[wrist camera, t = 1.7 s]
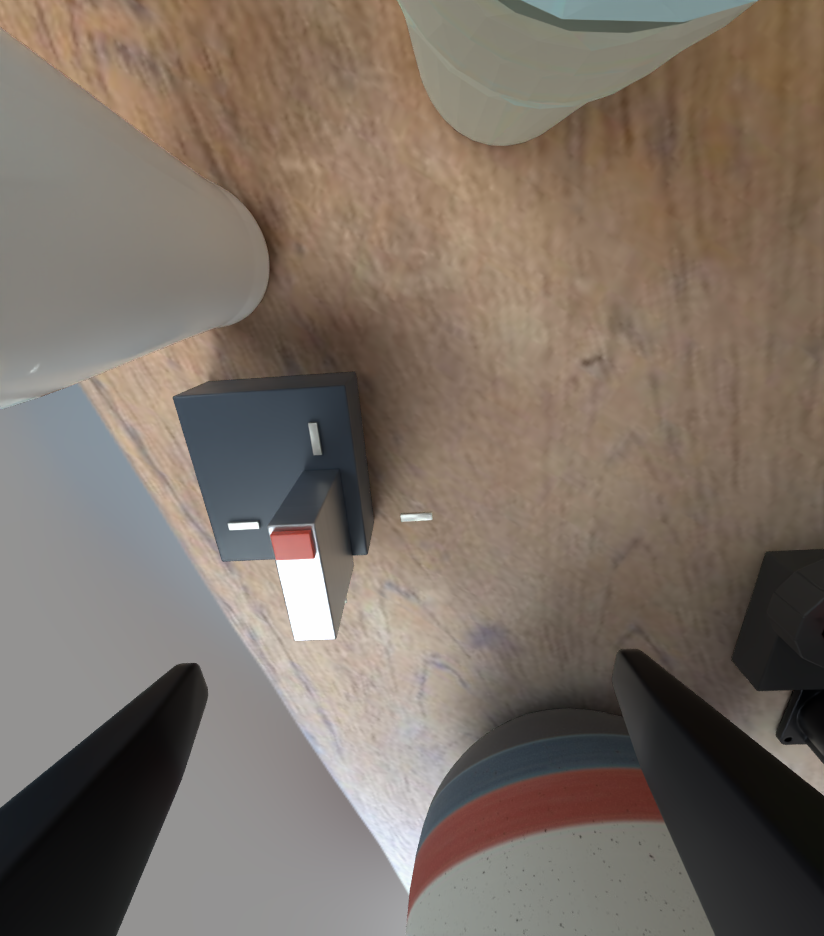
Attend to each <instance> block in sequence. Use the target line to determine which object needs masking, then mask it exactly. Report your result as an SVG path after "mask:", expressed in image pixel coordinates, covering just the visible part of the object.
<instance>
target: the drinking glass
mask: <svg viewBox="0 0 824 936" xmlns="http://www.w3.org/2000/svg"><path fill="white" fill-rule="evenodd" d="M269 272H270V263H269V254H268V249H267V245H266V242H265V239H264V236H263V234H262V231H261V229H260V227H259V225H258V223H257V222H256V220H255V218H254V217H253V215H252V214H251V213H250V211H249V210H248V209H247V208H246V207H245V205H244V204H243V203H242V202H241V201H240V200H239V199H237V198H236V197H235V196H234V195H233V194H231V193H230V192H229V191H227V190H226V189H224V188H223V187H221V186H219V185H218V184H216V183H214V182H212V181H210V180H208V179H206V178H205V177H203V176H202V175H200V174H199V173H197V172H196V171H195V170H193V169H192V168H190V167H189V166H188V165H186V164H185V163H184V162H182V161H181V160H179V159H178V158H177V157H175V156H174V155H173V154H171V153H170V152H169V151H167V150H166V149H164V148H163V147H162V146H160V145H159V144H158V143H156V142H155V141H154V140H152V139H151V138H150V137H148V136H147V135H145V134H144V133H143V132H141V131H140V130H139V129H137V128H136V127H135V126H133V125H132V124H131V123H129V122H128V121H127V120H125V119H124V118H123V117H121V116H120V115H119V114H117V113H116V112H115V111H113V110H112V109H111V108H109V107H108V106H107V105H105V104H104V103H102V102H101V101H100V100H98V99H97V98H96V97H94V96H93V95H92V94H90V93H89V92H88V91H86V90H85V89H84V88H82V87H81V86H80V85H78V84H77V83H76V82H74V81H73V80H72V79H70V78H69V77H68V76H66V75H65V74H64V73H62V72H61V71H60V70H58V69H57V68H56V67H54V66H53V65H52V64H50V63H49V62H48V61H46V60H45V59H44V58H42V57H41V56H40V55H38V54H37V53H36V52H34V51H33V50H32V49H30V48H29V47H27V46H26V45H25V44H23V43H22V42H21V41H19V40H18V39H17V38H15V37H14V36H12V35H11V34H10V33H8V32H7V31H6V30H4V29H3V28H2V27H0V410H1V409H5V408H8V407H11V406H14V405H17V404H21V403H24V402H27V401H30V400H33V399H36V398H39V397H42V396H45V395H47V394H50V393H53V392H56V391H59V390H61V389H64V388H67V387H69V386H72V385H74V384H77V383H79V382H82V381H84V380H87V379H90V378H92V377H94V376H97V375H99V374H102V373H104V372H107V371H109V370H112V369H114V368H117V367H119V366H121V365H124V364H126V363H129V362H131V361H134V360H136V359H138V358H141V357H143V356H146V355H148V354H151V353H153V352H156V351H158V350H161V349H163V348H166V347H168V346H171V345H173V344H176V343H178V342H181V341H183V340H186V339H188V338H191V337H193V336H196V335H199V334H201V333H204V332H206V331H209V330H212V329H216V328H221V327H226V326H229V325H233V324H235V323H237V322H239V321H241V320H243V319H245V318H246V317H247V316H249V315H250V314H251V313H252V312H253V311H254V310H255V309H256V307H257V306H258V305H259V303H260V302H261V300H262V298H263V296H264V294H265V291H266V288H267V285H268V280H269Z"/></svg>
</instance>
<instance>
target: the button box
mask: <svg viewBox="0 0 824 936" xmlns="http://www.w3.org/2000/svg"><path fill="white" fill-rule="evenodd" d="M732 661H733V663H734V664H735V665H736V666H737V667H738V669H739V670H740V671H741V672H742V673H743V675H744V676H745V677H746V678H747V679H748V680H749V682H750V683H751V684H752V685H753V686H754V688H755V689H756V690H757V691H777V690H809V689H824V549H816V550H794V551H772V552H766V553H765V556H764V559H763V562H762V566H761V569H760V572H759V575H758V578H757V581H756V584H755V587H754V591H753V594H752V597H751V600H750V603H749V606H748V609H747V612H746V616H745V619H744V622H743V625H742V628H741V631H740V634H739V637H738V641H737V644H736V647H735V650H734V653H733V656H732Z"/></svg>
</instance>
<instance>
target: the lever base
mask: <svg viewBox="0 0 824 936" xmlns="http://www.w3.org/2000/svg"><path fill="white" fill-rule="evenodd" d="M173 400H174V403H175V407H176V410H177V413H178V417H179V420H180V423H181V427H182V430H183V433H184V437H185V440H186V443H187V447H188V450H189V453H190V456H191V460H192V463H193V466H194V470H195V473H196V476H197V480H198V483H199V486H200V490H201V493H202V496H203V500H204V503H205V506H206V509H207V513H208V516H209V519H210V523H211V526H212V529H213V533H214V536H215V539H216V543H217V546H218V549H219V553H220V556H221V559H222V561H223V562H224V561H246V560H267V559H275V557H274V553H273V549H272V545H271V541H270V536H269V532H268V528H267V526H268V524H269V523H270V521H271V520H272V518H273V516H274V515H275V513H276V512H277V510H278V509H279V507H280V506H281V504H282V503H283V501H284V500H285V498H286V496H287V495H288V493H289V492H290V490H291V489H292V487H293V486H294V484H295V483H296V481H297V479H298V478H299V476H300V475H301V473H302V472H303V471H315V470H333V469H339V470H340V476H341V483H342V490H343V496H344V503H345V509H346V516H347V523H348V529H349V536H350V543H351V549H352V555H367V554H368V550H369V545H370V540H371V535H372V530H373V525H374V516H373V508H372V500H371V491H370V483H369V475H368V467H367V458H366V450H365V442H364V434H363V425H362V417H361V409H360V401H359V392H358V384H357V376H356V372H341V373H326V374H311V375H296V376H281V377H266V378H251V379H236V380H221V381H208V382H205V383H203V384H201V385H198V386H196V387H194V388H192V389H189V390H187V391H185V392H182V393H180V394H178V395H175V396H173ZM400 516H401V522H404V521H423V520H432V512H413V513H401V514H400ZM345 603H347V597H346V601H345Z"/></svg>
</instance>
